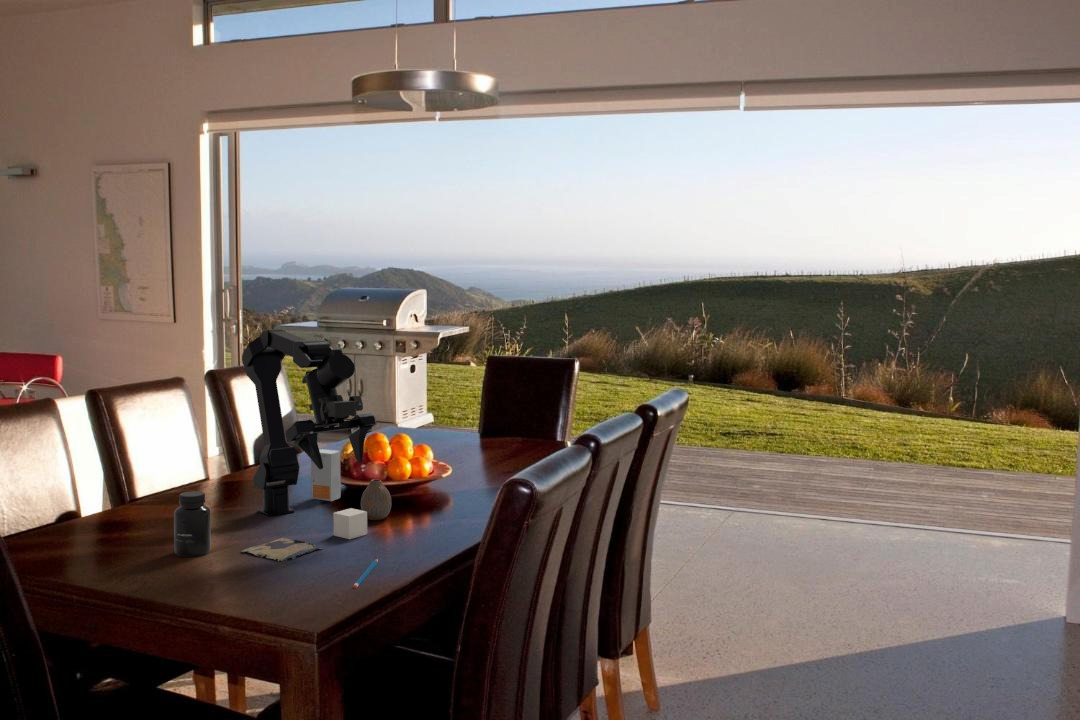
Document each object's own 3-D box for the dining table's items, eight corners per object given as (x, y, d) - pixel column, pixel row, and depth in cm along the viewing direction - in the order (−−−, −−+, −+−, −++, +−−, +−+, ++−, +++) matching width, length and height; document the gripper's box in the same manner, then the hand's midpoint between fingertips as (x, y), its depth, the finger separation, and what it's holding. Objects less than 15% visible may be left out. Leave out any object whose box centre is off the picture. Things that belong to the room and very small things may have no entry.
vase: (385, 522, 210) (384, 484, 210) (356, 521, 212) (355, 482, 211) (395, 515, 217) (395, 477, 216) (367, 513, 219) (367, 476, 218)
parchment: (282, 564, 181) (282, 559, 181) (236, 554, 188) (236, 549, 187) (328, 549, 191) (328, 544, 191) (283, 539, 198) (283, 535, 198)
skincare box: (310, 499, 232) (310, 451, 231) (321, 495, 236) (320, 448, 235) (331, 501, 230) (330, 453, 229) (341, 498, 234) (340, 450, 233)
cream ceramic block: (333, 535, 200) (333, 512, 200) (351, 530, 204) (351, 508, 204) (349, 539, 197) (349, 516, 197) (367, 534, 201) (367, 511, 201)
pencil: (351, 589, 167) (351, 585, 166) (375, 560, 184) (375, 557, 183) (356, 589, 166) (356, 586, 166) (379, 561, 183) (379, 557, 183)
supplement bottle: (176, 559, 183) (175, 499, 181) (172, 550, 189) (171, 491, 188) (213, 555, 186) (212, 495, 185) (208, 546, 192) (207, 488, 191)
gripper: (299, 385, 188) (317, 460, 184) (379, 379, 200) (398, 448, 196) (277, 404, 196) (294, 476, 192) (355, 397, 208) (372, 464, 204)
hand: (341, 465), depth 196 cm, fingers open, 9 cm apart
